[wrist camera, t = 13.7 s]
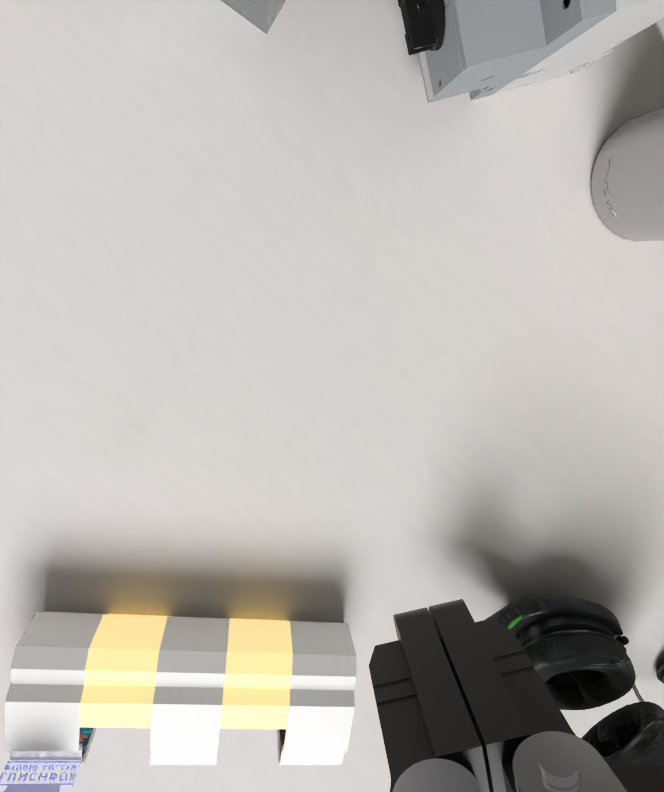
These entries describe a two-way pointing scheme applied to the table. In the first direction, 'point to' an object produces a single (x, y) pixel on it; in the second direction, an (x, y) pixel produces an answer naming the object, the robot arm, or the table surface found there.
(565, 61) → the grey narrow upright piece
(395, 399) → the table surface
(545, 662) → the headset
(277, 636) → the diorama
